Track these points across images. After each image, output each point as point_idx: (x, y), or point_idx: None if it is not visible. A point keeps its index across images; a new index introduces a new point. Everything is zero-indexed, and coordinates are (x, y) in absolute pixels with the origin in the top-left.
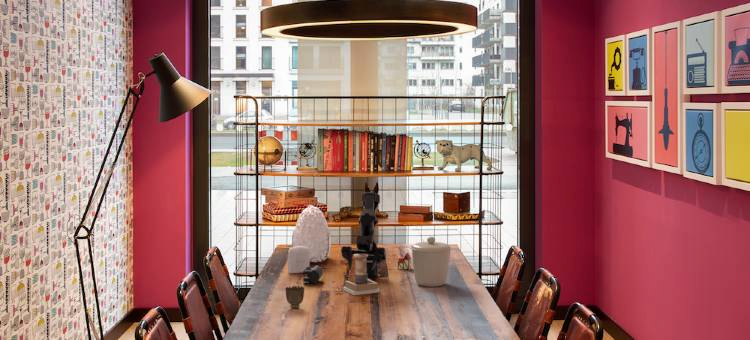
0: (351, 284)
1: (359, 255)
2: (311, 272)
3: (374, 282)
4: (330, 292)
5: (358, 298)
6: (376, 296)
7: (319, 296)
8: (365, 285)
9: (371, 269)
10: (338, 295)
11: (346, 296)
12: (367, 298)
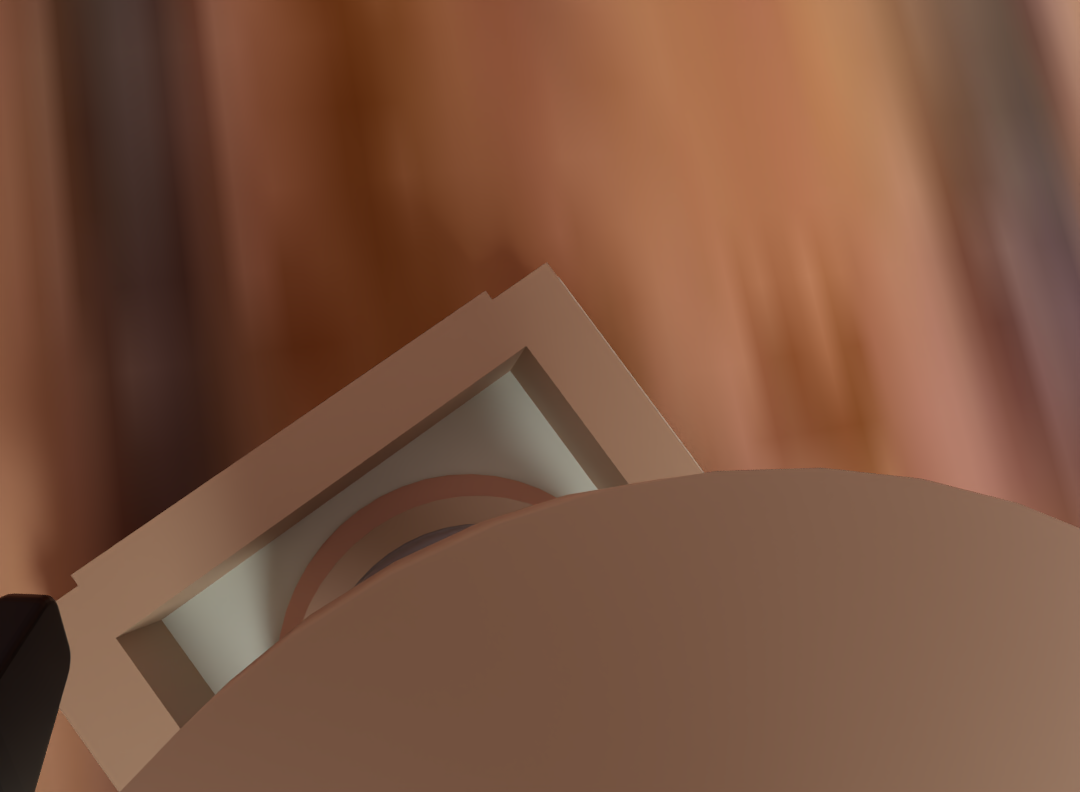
0: (670, 437)
1: (877, 725)
2: None
3: (111, 685)
4: (986, 452)
5: (424, 71)
6: (99, 259)
7: (1067, 145)
8: (329, 404)
9: (25, 598)
10: (803, 249)
11: (657, 193)
12: (260, 86)
